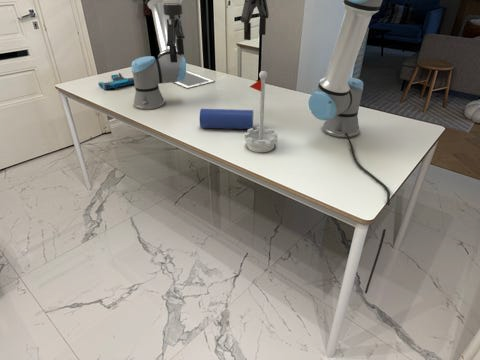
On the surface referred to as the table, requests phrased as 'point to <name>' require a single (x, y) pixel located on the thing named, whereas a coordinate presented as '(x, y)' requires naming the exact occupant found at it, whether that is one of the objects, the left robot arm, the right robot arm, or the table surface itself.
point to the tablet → (193, 80)
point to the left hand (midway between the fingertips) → (177, 58)
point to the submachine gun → (116, 82)
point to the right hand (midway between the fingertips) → (255, 37)
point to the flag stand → (261, 124)
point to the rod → (226, 118)
